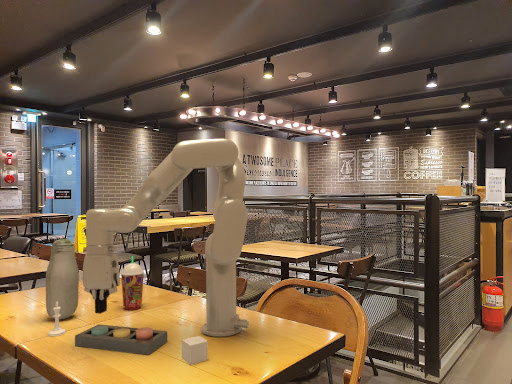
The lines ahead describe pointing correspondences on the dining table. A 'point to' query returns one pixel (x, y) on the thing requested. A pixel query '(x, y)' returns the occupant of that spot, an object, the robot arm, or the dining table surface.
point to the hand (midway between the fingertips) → (101, 312)
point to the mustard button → (121, 333)
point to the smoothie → (132, 286)
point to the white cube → (194, 350)
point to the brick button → (144, 333)
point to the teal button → (99, 330)
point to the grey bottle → (62, 279)
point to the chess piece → (56, 323)
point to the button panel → (121, 341)
